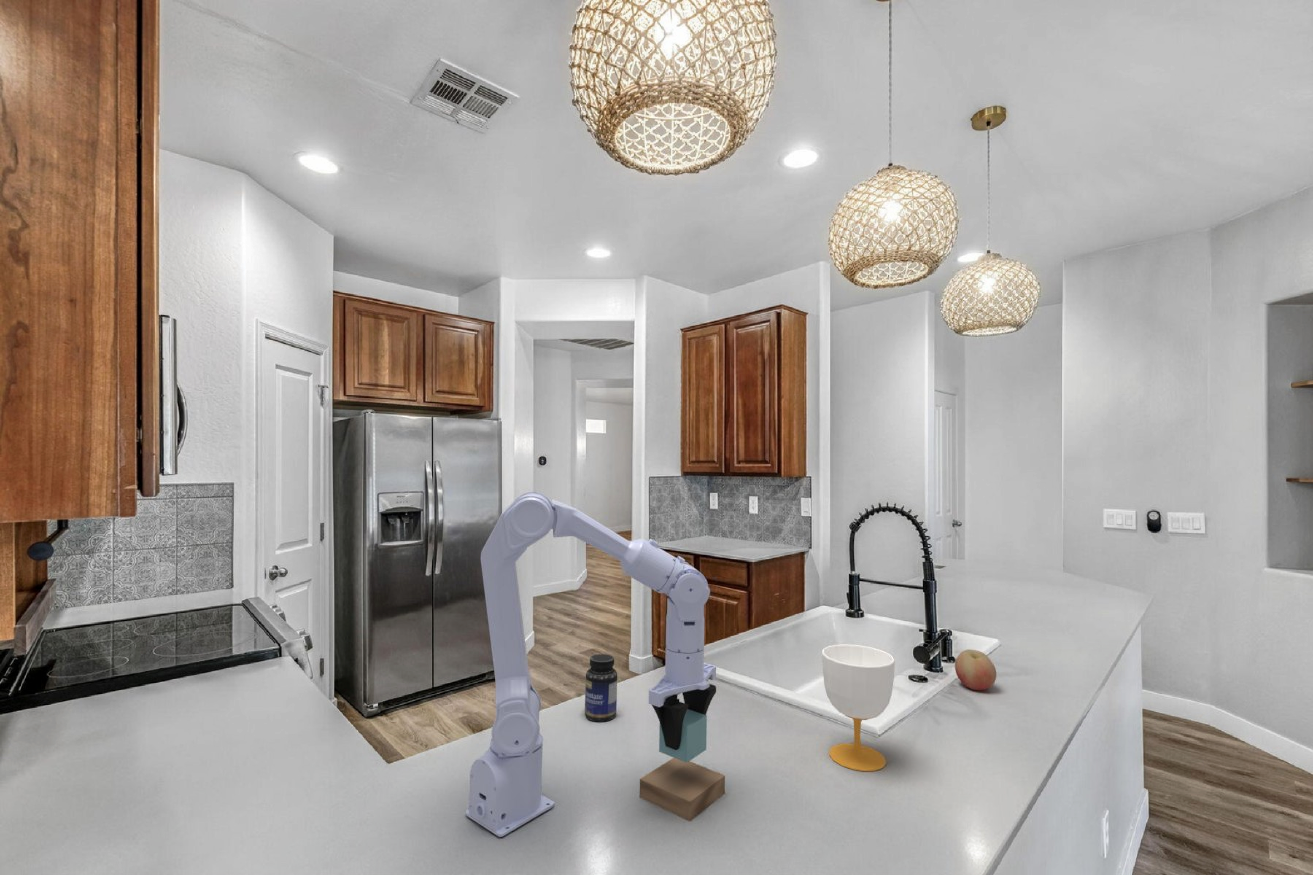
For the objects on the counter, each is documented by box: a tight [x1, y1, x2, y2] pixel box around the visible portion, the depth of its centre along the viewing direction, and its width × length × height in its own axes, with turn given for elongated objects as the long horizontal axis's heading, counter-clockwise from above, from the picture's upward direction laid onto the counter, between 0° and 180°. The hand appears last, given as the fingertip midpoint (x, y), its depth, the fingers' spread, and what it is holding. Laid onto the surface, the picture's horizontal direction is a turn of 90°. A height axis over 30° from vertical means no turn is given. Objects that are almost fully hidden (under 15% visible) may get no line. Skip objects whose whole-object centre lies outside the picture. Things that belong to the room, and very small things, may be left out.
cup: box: [821, 643, 896, 772], centre depth 99 cm, size 12×12×17 cm
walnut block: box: [638, 757, 726, 822], centre depth 87 cm, size 9×9×3 cm
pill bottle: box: [584, 653, 618, 722], centre depth 114 cm, size 6×6×11 cm
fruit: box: [954, 649, 997, 691], centre depth 132 cm, size 8×8×8 cm
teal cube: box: [658, 709, 708, 763], centre depth 87 cm, size 5×5×5 cm
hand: (683, 740), depth 87 cm, fingers closed on teal cube, 5 cm apart
